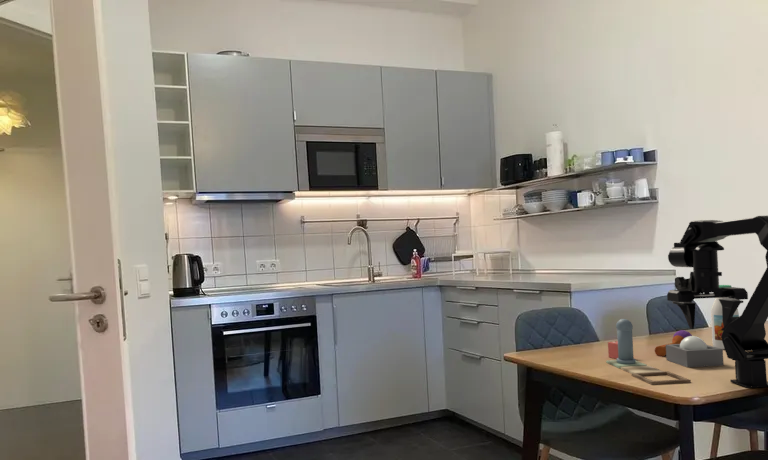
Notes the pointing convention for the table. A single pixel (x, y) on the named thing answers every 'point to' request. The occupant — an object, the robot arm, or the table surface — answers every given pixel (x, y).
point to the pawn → (625, 342)
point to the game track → (647, 372)
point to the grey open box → (694, 356)
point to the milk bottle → (718, 321)
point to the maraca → (676, 340)
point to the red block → (613, 349)
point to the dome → (693, 343)
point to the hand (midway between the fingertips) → (708, 327)
